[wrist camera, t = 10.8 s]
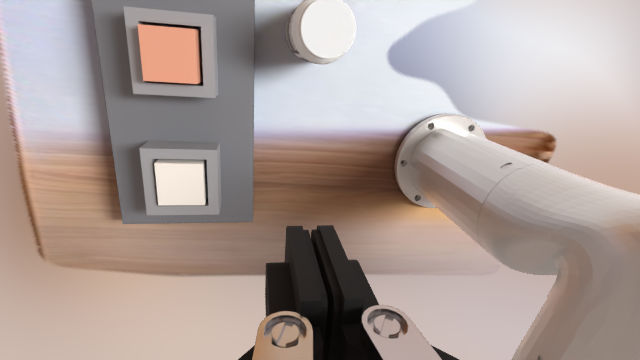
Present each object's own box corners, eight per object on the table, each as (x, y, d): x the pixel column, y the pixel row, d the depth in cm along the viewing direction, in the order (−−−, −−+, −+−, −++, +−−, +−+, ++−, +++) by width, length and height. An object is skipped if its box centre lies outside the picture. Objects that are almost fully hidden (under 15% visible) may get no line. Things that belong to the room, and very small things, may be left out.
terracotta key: (200, 30, 31) (195, 29, 28) (202, 80, 33) (197, 84, 30) (148, 26, 30) (137, 24, 28) (153, 78, 32) (143, 80, 29)
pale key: (206, 155, 36) (202, 164, 33) (208, 193, 37) (204, 205, 35) (162, 154, 35) (154, 163, 32) (165, 193, 37) (158, 205, 34)
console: (254, -4, 35) (254, -14, 29) (253, 210, 43) (252, 234, 37) (101, -21, 32) (69, -35, 26) (131, 211, 40) (112, 237, 35)
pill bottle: (346, 24, 37) (376, 16, 28) (319, 71, 38) (339, 79, 29) (301, -8, 35) (318, -28, 26) (274, 43, 36) (281, 41, 27)
